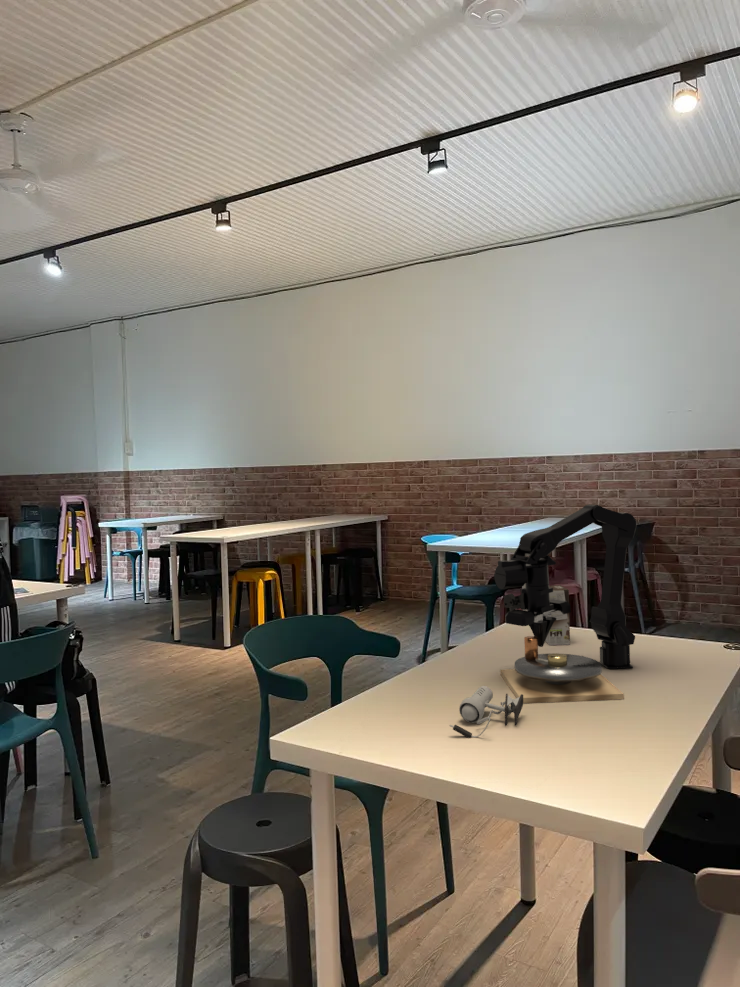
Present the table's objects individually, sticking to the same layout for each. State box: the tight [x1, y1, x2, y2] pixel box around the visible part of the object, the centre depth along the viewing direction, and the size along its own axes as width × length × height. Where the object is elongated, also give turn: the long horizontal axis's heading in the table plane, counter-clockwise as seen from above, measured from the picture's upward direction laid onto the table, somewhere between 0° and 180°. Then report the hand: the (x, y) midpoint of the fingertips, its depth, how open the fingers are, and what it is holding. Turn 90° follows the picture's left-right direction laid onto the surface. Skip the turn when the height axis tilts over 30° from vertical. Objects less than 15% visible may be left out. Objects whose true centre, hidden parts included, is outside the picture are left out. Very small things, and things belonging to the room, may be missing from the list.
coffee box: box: [545, 584, 571, 646], centre depth 216 cm, size 9×6×16 cm
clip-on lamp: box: [449, 685, 524, 739], centre depth 149 cm, size 12×6×18 cm
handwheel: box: [514, 635, 603, 682], centre depth 173 cm, size 20×20×6 cm
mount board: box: [499, 668, 625, 704], centre depth 173 cm, size 23×23×4 cm
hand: (540, 646), depth 181 cm, fingers closed
